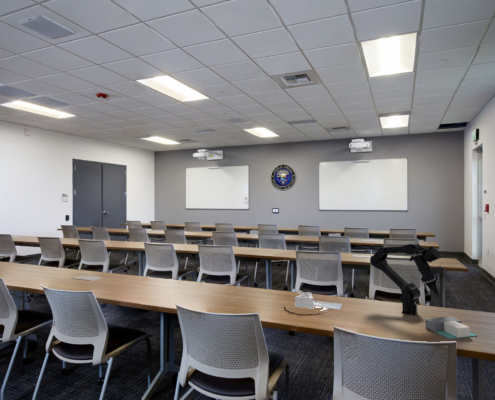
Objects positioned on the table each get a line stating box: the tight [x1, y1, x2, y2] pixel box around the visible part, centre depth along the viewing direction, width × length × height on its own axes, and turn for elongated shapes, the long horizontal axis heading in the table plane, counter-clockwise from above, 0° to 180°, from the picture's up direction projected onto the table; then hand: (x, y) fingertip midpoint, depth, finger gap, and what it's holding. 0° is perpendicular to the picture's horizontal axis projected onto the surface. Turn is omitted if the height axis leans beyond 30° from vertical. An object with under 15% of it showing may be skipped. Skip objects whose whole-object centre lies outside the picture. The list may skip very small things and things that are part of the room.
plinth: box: [424, 315, 463, 333], centre depth 160 cm, size 6×14×4 cm, turn 101°
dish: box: [294, 289, 329, 311], centre depth 197 cm, size 25×25×11 cm
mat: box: [435, 331, 478, 340], centre depth 152 cm, size 8×14×1 cm, turn 101°
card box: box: [444, 321, 471, 339], centre depth 152 cm, size 4×6×8 cm
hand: (438, 295), depth 170 cm, fingers closed
